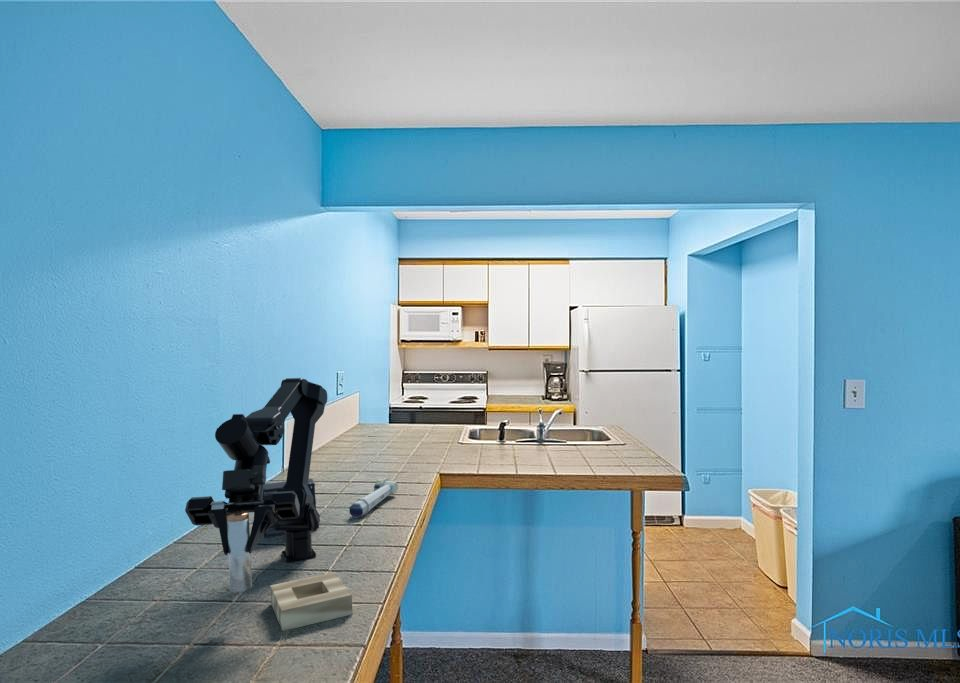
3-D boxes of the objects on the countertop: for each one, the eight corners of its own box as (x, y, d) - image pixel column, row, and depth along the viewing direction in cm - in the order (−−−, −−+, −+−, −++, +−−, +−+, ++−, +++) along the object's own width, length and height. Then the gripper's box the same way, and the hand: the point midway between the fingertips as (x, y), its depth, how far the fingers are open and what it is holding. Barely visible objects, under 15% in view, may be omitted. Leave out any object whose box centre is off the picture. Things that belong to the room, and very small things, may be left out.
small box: (314, 522, 165) (313, 477, 165) (317, 530, 159) (316, 483, 159) (261, 530, 161) (259, 483, 160) (262, 538, 154) (260, 489, 154)
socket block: (271, 604, 117) (270, 585, 117) (335, 589, 122) (334, 571, 122) (282, 631, 106) (281, 610, 106) (352, 614, 112) (351, 594, 111)
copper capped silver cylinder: (229, 586, 111) (225, 512, 110) (251, 581, 112) (247, 509, 112) (230, 593, 107) (227, 518, 107) (253, 589, 109) (249, 514, 108)
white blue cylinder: (362, 501, 167) (402, 476, 191) (340, 500, 169) (382, 475, 193) (363, 521, 167) (403, 493, 191) (341, 519, 169) (383, 492, 193)
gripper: (185, 453, 112) (166, 535, 101) (294, 446, 114) (285, 527, 103) (202, 485, 120) (185, 565, 109) (302, 478, 122) (296, 556, 111)
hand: (237, 553), depth 108 cm, fingers closed on copper capped silver cylinder, 4 cm apart
